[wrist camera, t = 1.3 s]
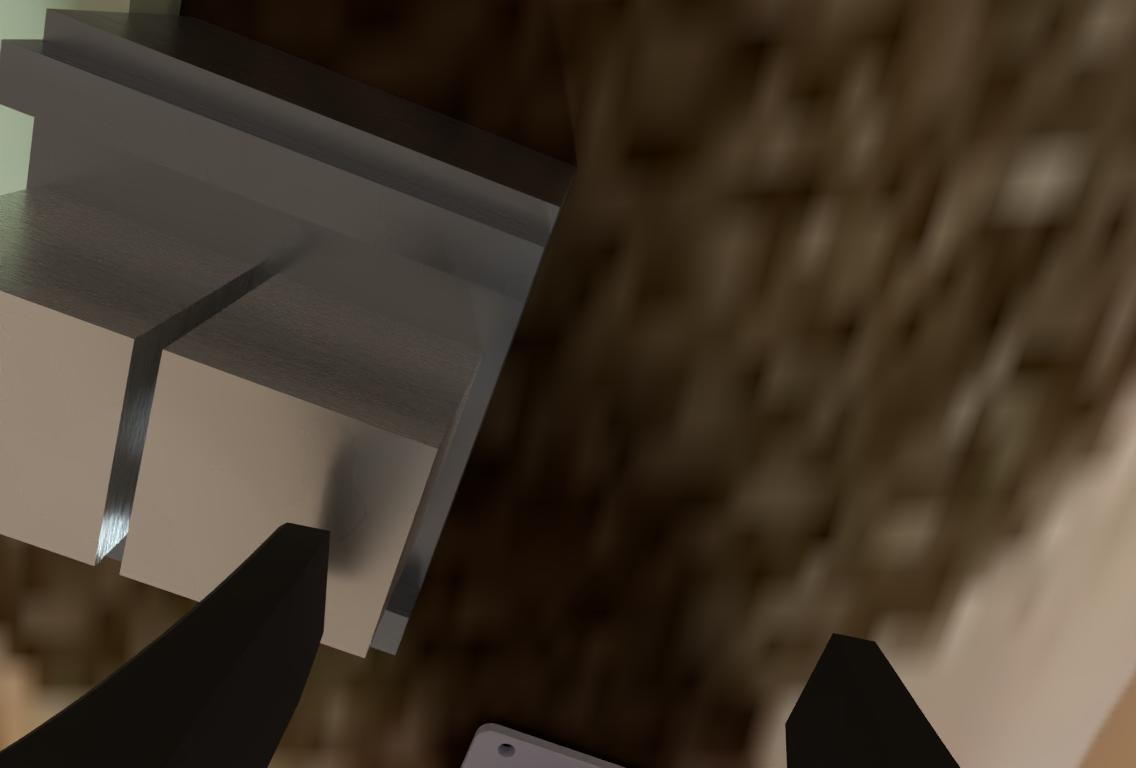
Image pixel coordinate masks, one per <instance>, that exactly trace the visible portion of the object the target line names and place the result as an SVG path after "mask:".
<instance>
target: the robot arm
mask: <svg viewBox="0 0 1136 768" xmlns="http://www.w3.org/2000/svg"><path fill="white" fill-rule="evenodd" d="M329 544H330V531H328V530H323V529H318V528H313V527H308V526H303V525H298V524H293V523H289V522H287V523H285V524H283V525H281V526H279V527H278V528H277V529H276V530H275V531H274V532H273V533H272V534H271V535H270V536H269V537H268V538H267V539H266V540H265V541H264V542H263V543H262V544H261V545H260V546H259V547H258V548H257V549H256V550H255V551H254V552H253V553H252V554H251V555H250V556H249V557H248V558H247V559H246V560H245V561H244V562H243V563H242V564H241V565H240V566H239V567H238V568H236V569H235V570H234V571H233V572H232V573H231V574H230V575H229V576H228V577H227V578H226V579H225V580H224V581H222V582H221V583H220V584H219V585H218V586H217V587H216V588H215V589H214V590H213V591H212V592H210V593H209V594H208V595H207V596H206V597H205V598H204V599H202V600H201V601H200V602H199V603H198V604H197V605H196V606H194V607H193V608H192V609H191V610H190V611H189V612H187V613H186V614H185V615H184V616H183V617H182V618H181V619H179V620H178V621H177V622H176V623H175V624H174V625H173V626H171V627H170V628H169V629H168V630H167V631H165V632H164V633H163V634H162V635H161V636H159V637H158V638H157V639H156V640H154V641H153V642H152V643H151V644H149V645H148V646H147V647H146V648H144V649H143V650H142V651H140V652H139V653H138V654H137V655H135V656H134V657H133V658H132V659H130V660H129V661H128V662H127V663H125V664H124V665H123V666H121V667H120V668H119V669H118V670H116V671H115V672H114V673H113V674H111V675H110V676H109V677H107V678H106V679H105V680H104V681H102V682H101V683H99V684H98V685H97V686H95V687H94V688H93V689H91V690H90V691H89V692H87V693H86V694H85V695H83V696H82V697H80V698H79V699H78V700H76V701H75V702H73V703H72V704H71V705H69V706H68V707H66V708H65V709H64V710H62V711H61V712H59V713H58V714H56V715H55V716H53V717H52V718H50V719H49V720H48V721H46V722H45V723H43V724H42V725H40V726H39V727H37V728H36V729H34V730H33V731H31V732H30V733H28V734H27V735H25V736H24V737H22V738H21V739H19V740H18V741H16V742H15V743H13V744H11V745H10V746H8V747H7V748H5V749H3V750H2V751H0V768H267V767H268V765H269V763H270V761H271V759H272V757H273V755H274V753H275V751H276V749H277V746H278V744H279V742H280V740H281V738H282V736H283V734H284V732H285V730H286V728H287V726H288V724H289V721H290V719H291V717H292V715H293V713H294V711H295V709H296V707H297V705H298V703H299V700H300V698H301V695H302V692H303V689H304V687H305V684H306V681H307V678H308V676H309V673H310V670H311V667H312V664H313V661H314V659H315V656H316V653H317V650H318V647H319V644H320V641H321V638H322V636H323V633H324V620H325V605H326V590H327V575H328V559H329ZM785 726H786V751H787V768H960V767H959V765H958V764H957V762H956V761H955V760H954V758H953V757H952V755H951V754H950V752H949V751H948V749H947V748H946V746H945V745H944V744H943V742H942V741H941V739H940V738H939V736H938V735H937V733H936V732H935V730H934V729H933V727H932V726H931V724H930V723H929V721H928V720H927V718H926V717H925V716H924V714H923V713H922V711H921V710H920V708H919V707H918V705H917V704H916V702H915V701H914V699H913V698H912V696H911V695H910V693H909V692H908V690H907V689H906V687H905V685H904V684H903V682H902V681H901V679H900V678H899V676H898V675H897V673H896V672H895V670H894V669H893V667H892V666H891V664H890V663H889V661H888V660H887V659H886V657H885V656H884V654H883V653H882V651H881V650H880V648H879V647H878V645H877V644H876V643H875V642H874V641H869V640H864V639H859V638H854V637H850V636H845V635H840V634H835V633H833V634H832V636H831V638H830V640H829V642H828V644H827V646H826V648H825V650H824V652H823V653H822V655H821V657H820V659H819V661H818V663H817V665H816V667H815V669H814V671H813V672H812V674H811V676H810V678H809V680H808V682H807V684H806V686H805V688H804V690H803V691H802V693H801V695H800V697H799V699H798V701H797V703H796V705H795V707H794V709H793V711H792V712H791V714H790V716H789V718H788V720H787V722H786V724H785ZM502 744H510V745H512V747H506V746H504V745H502ZM461 768H625V767H622V766H619V765H616V764H613V763H610V762H607V761H604V760H601V759H598V758H595V757H592V756H589V755H586V754H584V753H581V752H578V751H575V750H572V749H569V748H566V747H563V746H560V745H557V744H554V743H551V742H548V741H545V740H542V739H539V738H536V737H533V736H530V735H528V734H525V733H522V732H519V731H516V730H513V729H510V728H507V727H504V726H501V725H498V724H493V723H489V724H484V725H482V726H480V727H479V728H478V730H477V731H476V733H475V736H474V738H473V740H472V743H471V745H470V747H469V749H468V752H467V754H466V756H465V759H464V761H463V763H462V765H461Z"/></svg>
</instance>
